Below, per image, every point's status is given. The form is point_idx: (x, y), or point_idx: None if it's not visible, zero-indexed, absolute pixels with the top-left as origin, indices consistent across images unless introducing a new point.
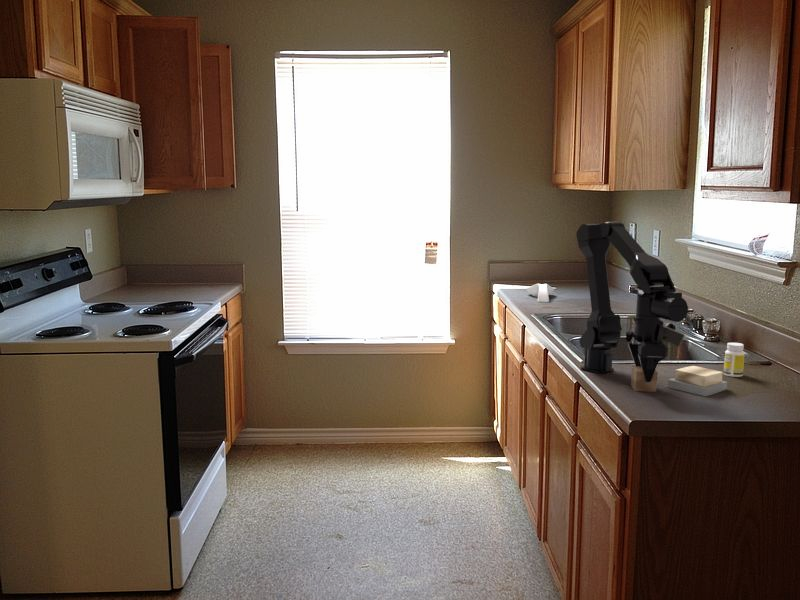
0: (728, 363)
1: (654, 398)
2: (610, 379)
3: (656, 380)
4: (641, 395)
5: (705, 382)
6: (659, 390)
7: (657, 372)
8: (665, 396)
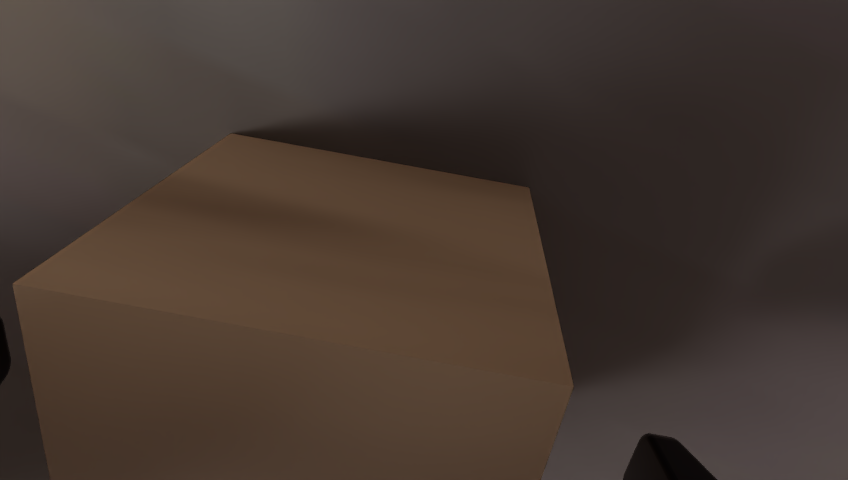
0: None
1: (838, 340)
2: (20, 466)
3: (545, 278)
4: (669, 423)
5: None
6: (466, 109)
7: (568, 379)
8: (798, 157)
